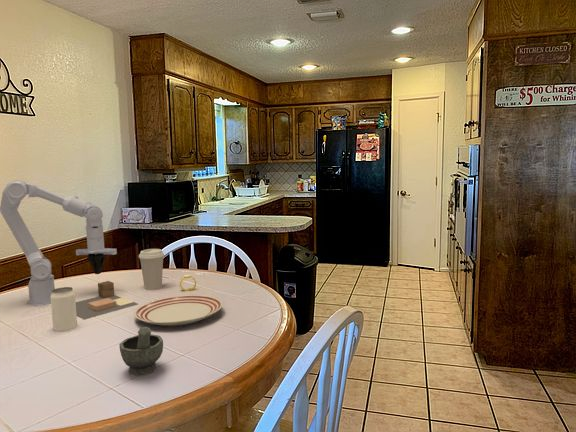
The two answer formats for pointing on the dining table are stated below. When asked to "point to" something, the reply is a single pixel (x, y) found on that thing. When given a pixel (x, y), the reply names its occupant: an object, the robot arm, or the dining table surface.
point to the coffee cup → (152, 268)
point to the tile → (102, 304)
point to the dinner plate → (178, 310)
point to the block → (106, 289)
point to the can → (63, 309)
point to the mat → (88, 313)
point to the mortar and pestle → (141, 352)
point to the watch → (187, 277)
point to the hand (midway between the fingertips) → (98, 273)
